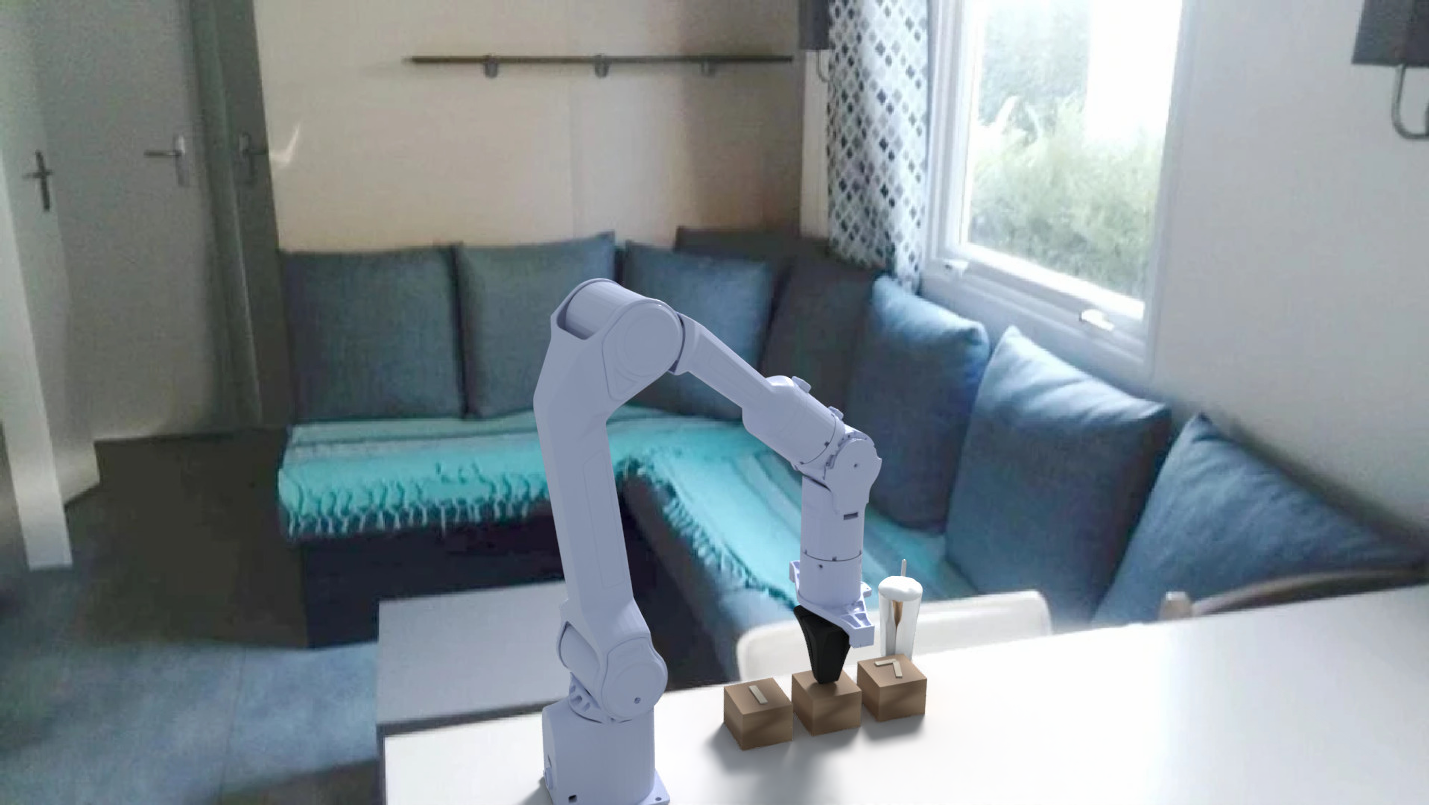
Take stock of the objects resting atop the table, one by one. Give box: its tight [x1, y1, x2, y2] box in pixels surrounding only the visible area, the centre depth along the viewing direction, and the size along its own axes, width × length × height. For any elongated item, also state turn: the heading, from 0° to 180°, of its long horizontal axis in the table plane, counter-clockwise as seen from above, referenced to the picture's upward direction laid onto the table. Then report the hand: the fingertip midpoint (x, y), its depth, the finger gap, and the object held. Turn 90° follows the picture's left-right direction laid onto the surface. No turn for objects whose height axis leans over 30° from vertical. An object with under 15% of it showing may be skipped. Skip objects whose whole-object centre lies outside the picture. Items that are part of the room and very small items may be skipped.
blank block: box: [790, 668, 862, 738], centre depth 110 cm, size 5×5×4 cm
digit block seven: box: [855, 653, 928, 723], centre depth 112 cm, size 5×5×4 cm
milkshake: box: [877, 559, 924, 662], centre depth 120 cm, size 4×5×10 cm
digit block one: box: [723, 677, 794, 752], centre depth 108 cm, size 5×5×4 cm
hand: (826, 679), depth 109 cm, fingers closed
